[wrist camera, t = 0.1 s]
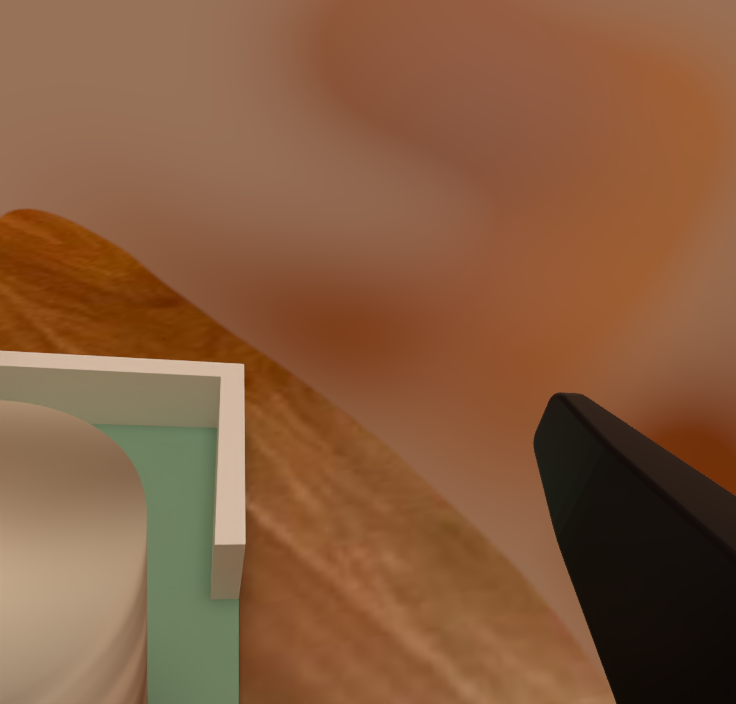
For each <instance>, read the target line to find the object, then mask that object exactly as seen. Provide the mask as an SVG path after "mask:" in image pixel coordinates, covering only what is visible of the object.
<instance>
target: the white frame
mask: <svg viewBox="0 0 736 704" xmlns="http://www.w3.org/2000/svg"><path fill="white" fill-rule="evenodd" d="M0 400H4V401H17V402H23V403H29V404H35V405H40V406H44V407H48V408H51V409H55V410H59V411H61V412H64V413H67V414H70V415H72V416H75V417H77V418H79V419H81V420H83V421H85V422H87V423H89V424H112V425H142V426H173V427H203V428H217V441H216V466H215V491H214V516H213V541H212V566H211V591H210V600H214V599H239V594H240V586H241V577H242V569H243V561H244V553H245V545H246V540H245V422H244V364H233V363H215V362H196V361H178V360H160V359H141V358H123V357H104V356H86V355H68V354H49V353H31V352H13V351H0Z"/></svg>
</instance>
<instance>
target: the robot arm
mask: <svg viewBox="0 0 736 704" xmlns="http://www.w3.org/2000/svg"><path fill="white" fill-rule="evenodd" d="M534 452H535V456H536V460H537V464H538V468H539V472H540V476H541V480H542V484H543V488H544V492H545V496H546V500H547V504H548V508H549V512H550V517H551V521H552V525H553V528H554V532H555V535H556V538H557V542H558V545H559V548H560V551H561V553H562V556H563V559H564V562H565V565H566V567H567V570H568V573H569V575H570V578H571V581H572V584H573V586H574V589H575V592H576V594H577V597H578V600H579V603H580V605H581V608H582V611H583V613H584V616H585V619H586V622H587V625H588V627H589V630H590V633H591V635H592V638H593V641H594V643H595V646H596V649H597V652H598V655H599V657H600V660H601V663H602V665H603V668H604V671H605V674H606V676H607V679H608V682H609V684H610V687H611V690H612V693H613V695H614V698H615V701H616V704H736V496H735V495H733V494H732V493H730V492H729V491H727V490H726V489H724V488H723V487H721V486H719V485H718V484H717V483H715V482H714V481H712V480H711V479H709V478H708V477H706V476H705V475H703V474H701V473H700V472H699V471H697V470H696V469H694V468H693V467H691V466H690V465H688V464H687V463H685V462H683V461H682V460H680V459H679V458H678V457H676V456H675V455H673V454H672V453H670V452H669V451H667V450H666V449H664V448H663V447H661V446H660V445H658V444H657V443H655V442H654V441H652V440H650V439H649V438H648V437H646V436H645V435H643V434H641V433H640V432H639V431H637V430H636V429H634V428H633V427H631V426H629V425H628V424H627V423H625V422H624V421H622V420H621V419H619V418H618V417H616V416H615V415H613V414H612V413H610V412H608V411H607V410H606V409H604V408H603V407H601V406H600V405H598V404H596V403H595V402H594V401H592V400H591V399H589V398H588V397H586V396H584V395H582V394H578V393H556V394H554V395H553V396H552V397H551V398H550V400H549V402H548V404H547V407H546V409H545V411H544V414H543V416H542V418H541V421H540V423H539V425H538V428H537V430H536V433H535V436H534Z"/></svg>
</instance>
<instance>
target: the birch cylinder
mask: <svg viewBox="0 0 736 704" xmlns="http://www.w3.org/2000/svg"><path fill="white" fill-rule="evenodd" d="M0 704H148V685H147V507H146V499H145V492H144V489H143V486H142V482H141V479H140V476H139V474H138V472H137V470H136V469H135V467H134V465H133V463H132V461H131V460H130V458H129V457H128V456H127V455H126V453H125V452H124V451H123V450H122V448H121V447H120V446H119V445H118V444H116V443H115V442H114V441H113V440H112V439H111V438H110V437H109V436H108V435H106V434H105V433H103V432H102V431H100V430H99V429H97V428H96V427H95V426H93V425H91V424H89V423H87V422H85V421H83V420H81V419H79V418H77V417H75V416H72V415H70V414H67V413H64V412H61V411H59V410H55V409H51V408H48V407H44V406H40V405H35V404H29V403H23V402H17V401H4V400H0Z"/></svg>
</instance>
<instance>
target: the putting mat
mask: <svg viewBox="0 0 736 704" xmlns="http://www.w3.org/2000/svg"><path fill="white" fill-rule="evenodd" d="M91 425H93V426H95V427H96V428H97V429H99V430H100V431H102V432H103V433H105V434H106V435H108V436H109V437H110V438H111V439H112V440H113V441H114V442H115V443H116V444H118V445H119V446H120V447H121V448H122V450H123V451H124V452H125V453H126V455H127V456H128V457H129V458H130V460H131V461H132V463H133V465H134V467H135V469H136V470H137V472H138V474H139V476H140V479H141V482H142V486H143V489H144V492H145V499H146V507H147V685H148V704H239V599H214V600H210V591H211V566H212V541H213V516H214V491H215V466H216V441H217V428H203V427H173V426H142V425H112V424H91Z"/></svg>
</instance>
